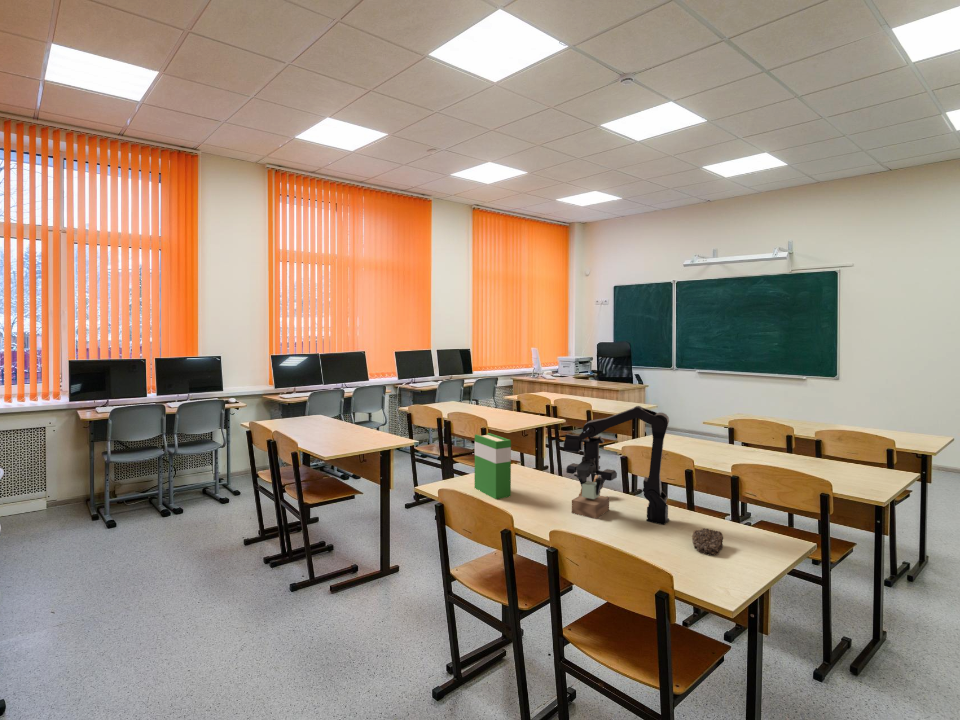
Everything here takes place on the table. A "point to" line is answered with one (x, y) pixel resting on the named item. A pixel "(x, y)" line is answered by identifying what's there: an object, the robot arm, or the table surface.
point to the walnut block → (590, 506)
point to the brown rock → (707, 541)
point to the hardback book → (493, 465)
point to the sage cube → (589, 490)
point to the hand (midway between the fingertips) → (590, 493)
